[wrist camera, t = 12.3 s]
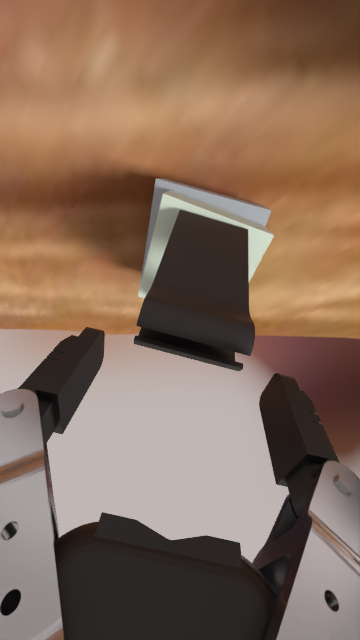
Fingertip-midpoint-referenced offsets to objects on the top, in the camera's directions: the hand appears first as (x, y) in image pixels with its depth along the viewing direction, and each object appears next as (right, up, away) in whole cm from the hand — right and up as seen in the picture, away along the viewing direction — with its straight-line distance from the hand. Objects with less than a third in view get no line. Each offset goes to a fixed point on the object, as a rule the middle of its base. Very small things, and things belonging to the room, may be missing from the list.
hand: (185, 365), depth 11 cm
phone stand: (+2, +7, +11) cm, 14 cm away
